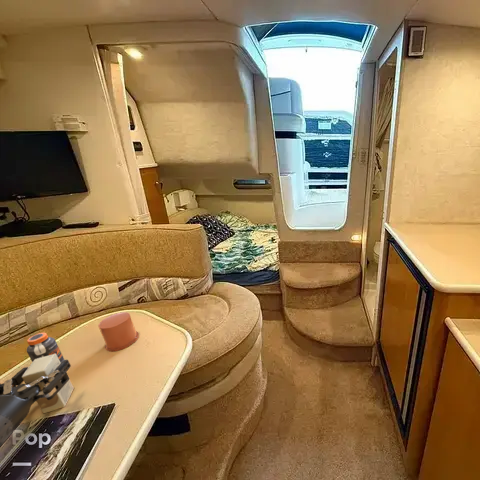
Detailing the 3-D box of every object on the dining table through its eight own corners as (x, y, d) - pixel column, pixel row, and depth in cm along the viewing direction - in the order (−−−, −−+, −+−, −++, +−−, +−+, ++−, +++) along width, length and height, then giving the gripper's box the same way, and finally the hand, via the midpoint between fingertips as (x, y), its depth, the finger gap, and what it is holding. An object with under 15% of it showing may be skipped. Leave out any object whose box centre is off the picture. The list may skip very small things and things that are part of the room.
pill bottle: (60, 371, 78) (44, 339, 75) (34, 378, 76) (16, 346, 72) (69, 357, 84) (54, 327, 80) (45, 363, 82) (28, 333, 78)
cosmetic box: (54, 394, 71) (34, 357, 67) (74, 388, 72) (57, 352, 68) (42, 415, 65) (19, 377, 61) (64, 407, 67) (44, 370, 63)
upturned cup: (99, 354, 84) (90, 331, 81) (114, 335, 93) (105, 314, 90) (132, 348, 86) (123, 326, 83) (143, 330, 94) (136, 309, 91)
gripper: (22, 406, 52) (74, 348, 67) (-69, 425, 49) (7, 360, 64) (38, 432, 54) (85, 371, 69) (-47, 452, 52) (21, 383, 67)
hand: (47, 366), depth 67 cm, fingers open, 8 cm apart
